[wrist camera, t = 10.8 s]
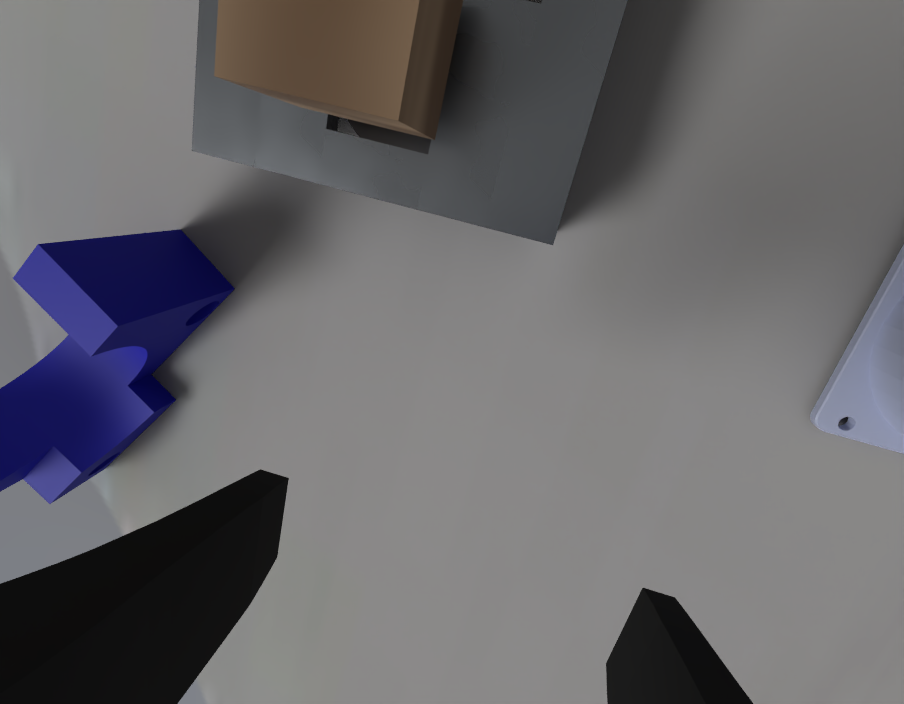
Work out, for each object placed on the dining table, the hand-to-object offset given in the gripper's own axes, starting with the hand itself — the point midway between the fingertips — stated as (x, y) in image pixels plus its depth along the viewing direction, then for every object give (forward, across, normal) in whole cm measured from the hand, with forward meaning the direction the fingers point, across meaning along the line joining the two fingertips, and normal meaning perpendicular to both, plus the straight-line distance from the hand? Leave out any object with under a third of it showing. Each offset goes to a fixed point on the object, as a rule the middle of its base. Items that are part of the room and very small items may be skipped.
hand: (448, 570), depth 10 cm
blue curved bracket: (+10, +15, +4) cm, 18 cm away
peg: (+10, +5, -10) cm, 15 cm away
